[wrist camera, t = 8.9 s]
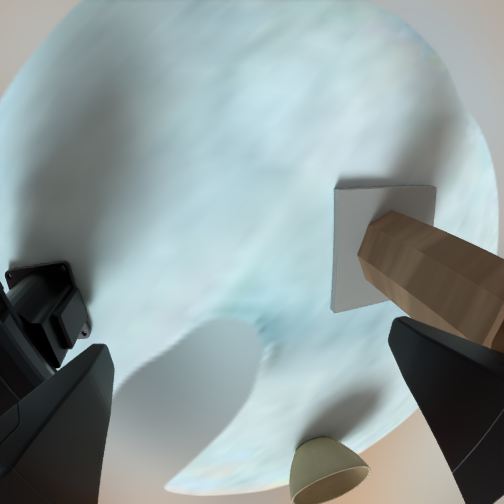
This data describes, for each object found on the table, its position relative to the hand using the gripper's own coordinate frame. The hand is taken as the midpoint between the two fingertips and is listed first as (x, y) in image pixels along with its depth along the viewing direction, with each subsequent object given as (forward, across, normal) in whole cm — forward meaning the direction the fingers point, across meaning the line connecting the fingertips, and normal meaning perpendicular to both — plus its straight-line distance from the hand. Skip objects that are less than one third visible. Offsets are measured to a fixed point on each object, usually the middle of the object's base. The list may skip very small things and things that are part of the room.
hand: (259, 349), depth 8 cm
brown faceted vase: (+13, -13, +2) cm, 18 cm away
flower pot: (+13, -10, +29) cm, 34 cm away
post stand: (+14, -13, +2) cm, 19 cm away
